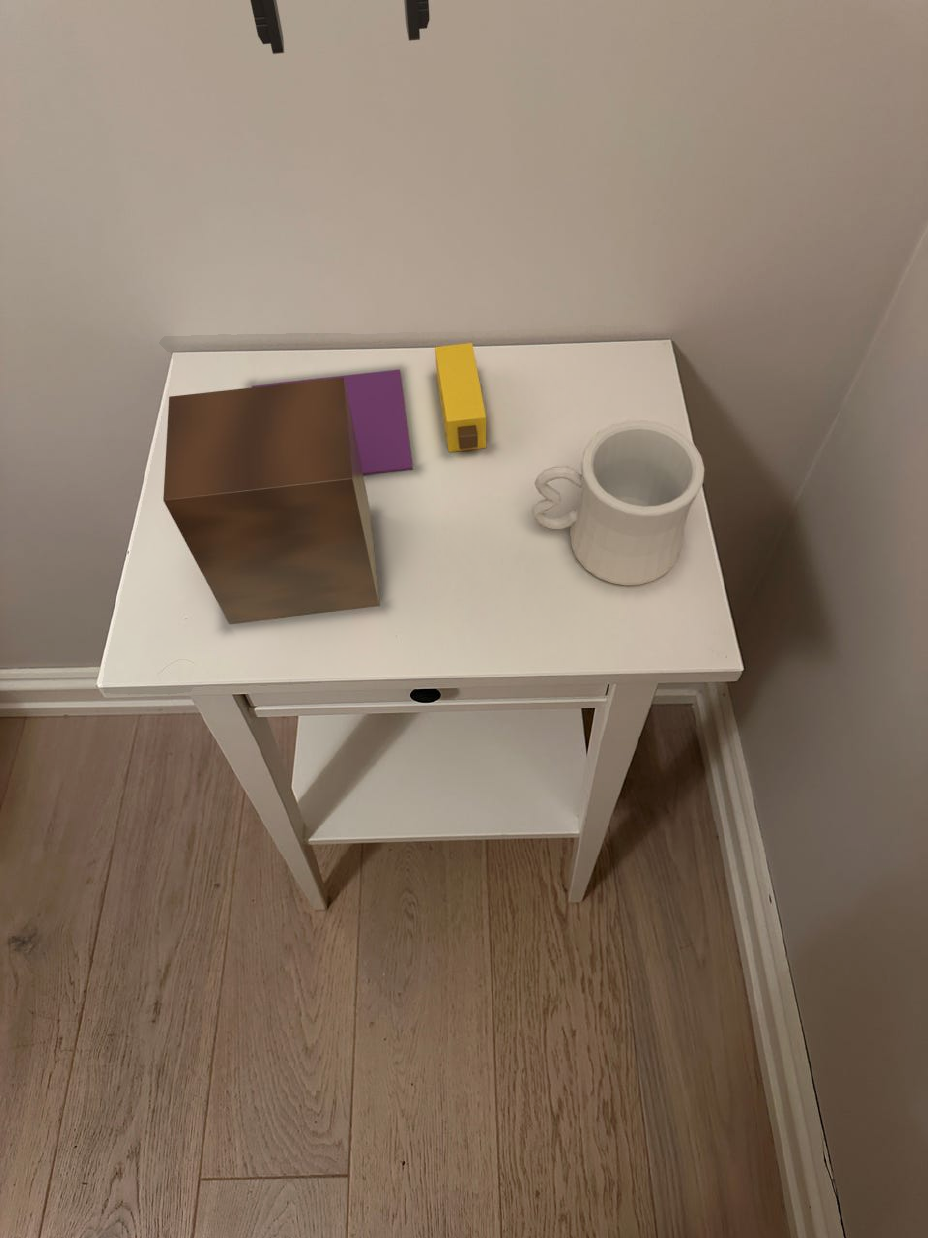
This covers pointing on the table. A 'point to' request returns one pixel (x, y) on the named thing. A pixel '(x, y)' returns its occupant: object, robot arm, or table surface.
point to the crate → (272, 498)
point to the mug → (628, 500)
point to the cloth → (377, 420)
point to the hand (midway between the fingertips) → (345, 40)
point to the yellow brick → (460, 397)
